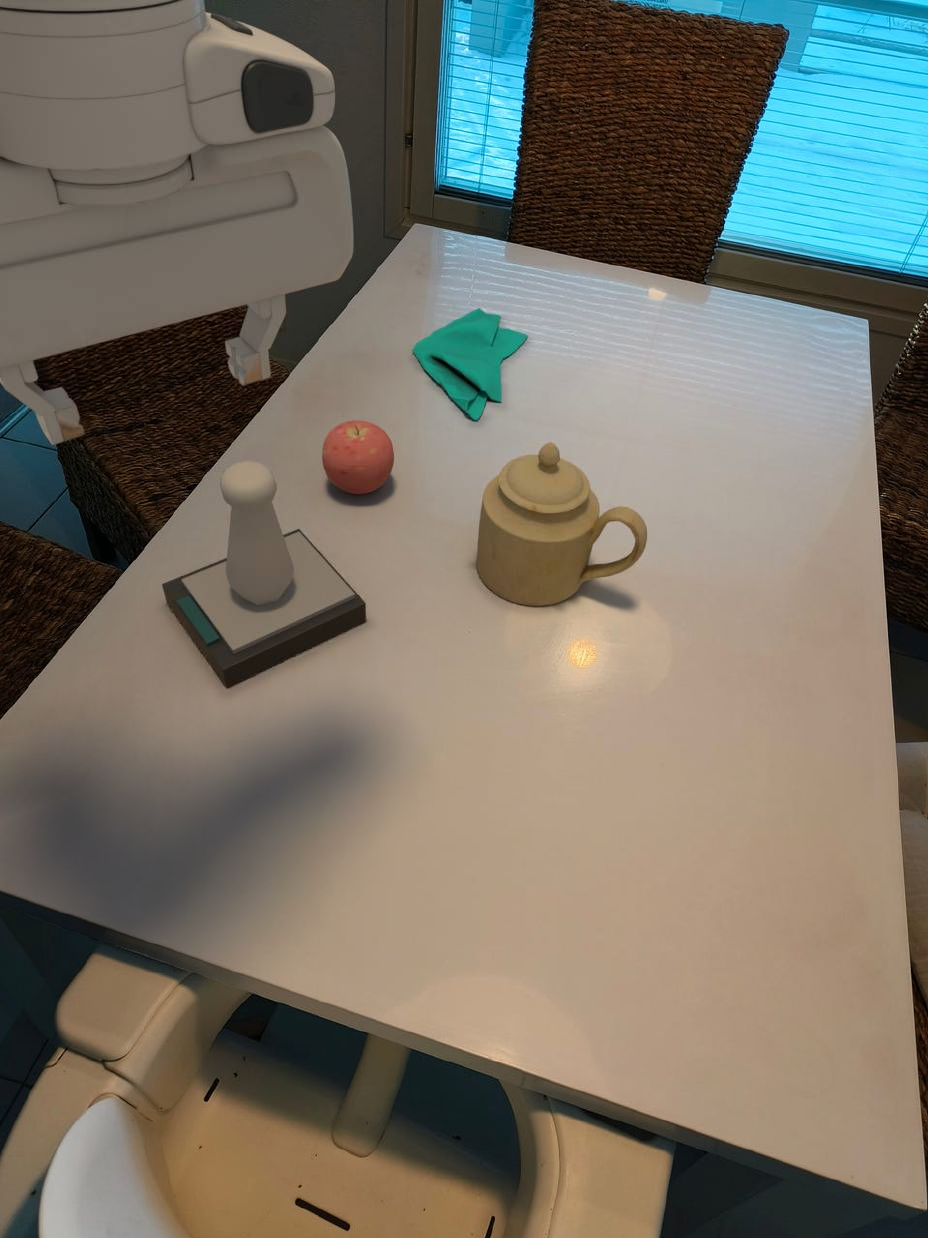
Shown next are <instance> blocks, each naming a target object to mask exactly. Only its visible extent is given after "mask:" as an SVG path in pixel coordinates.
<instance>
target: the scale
mask: <svg viewBox="0 0 928 1238" xmlns="http://www.w3.org/2000/svg"><path fill="white" fill-rule="evenodd" d="M283 536H284V539H285V542H286V545H287V548H288V551H289V554H290V557H291V560H292V563H293V566H294V573H293V576H292V579H291V582H290V584H289V585H288V587H287V588H286V590H285V591H284V593H283V594H282V596H281V597H280V599H279V601H277V602H272V603H268V604H263V605H259V606H257V605H255V604H253V603H251V602H249V601H247V600H245V599H243V598H241V597H240V596H239V594H238V593H237V592H236V591H235V590H234V589H233V588H232V587H231V586H230V584H229V582H228V579H227V575H226V561H227V557H225V558H222V559H221V560H218V561H216V562H213V563H210V564H208V565H205V566H203V567H201V568H198V569H195V570H193V571H191V572H189V573H186V574H184V575H181V576H177V577H176V578H174V579H171V580H169V581H166V582H164V583H161V587H162V591H163V594H164V597H165V602H166V604H167V605H168V607H169V608H170V610H171V611H172V612H173V614H174V615H175V617H176V618H177V620H178V621H179V623H180V624H181V625H182V627H183V628H184V630H185V631H186V632H187V634H188V635H189V637H190V638H191V640H192V642H194V644H195V645H196V647H197V648H198V649H199V651H200V652H201V654H202V655H203V657H204V659H205V660H206V661H207V662H208V665H209V666H210V667H211V668H212V670H213V671H214V673H215V674H216V675H217V677H218V678H219V680H220V681H221V682H222V684H223V685H224V687H225V688H226V689H228V688H230V687H232V686H235V685H236V684H238V683H241V682H243V681H245V680H247V679H249V678H251V677H254V676H255V675H257V674H260V673H262V672H264V671H266V670H267V669H269V668H272V667H274V666H277V665H278V664H280V663H283V662H284V661H287V660H289V659H290V658H293V657H294V656H297V655H299V654H301V653H303V652H304V651H307V650H309V649H311V648H313V647H315V646H318V645H320V644H322V643H324V642H326V641H328V640H331V639H332V638H334V637H336V636H338V635H340V634H343V633H344V632H347V631H349V630H350V629H353V628H356V627H357V626H360V625H361V624H363V623H366V622H367V605H366V601H365V600H364V599H363V598H362V597H361V596H360V595H359V594H358V592H356V590H355V589H353V587H352V586H351V585H350V584H349V583H348V582H347V580H346V579H345V578H344V577H343V576H342V574H340V572H338V570H337V569H336V568H335V567H334V566H333V565H332V564H331V563H330V562H329V560H328V559H327V558H326V557H325V556H324V554H322V553H321V551H320V550H319V549H318V548H317V547H316V546H315V544H314V543H312V541H311V540H310V539H309V538H308V537H307V536H306V534H304V532H303V531H302V530H301V529H300V528H297V529H294V530H292V531H289V532H287V533H285V534H283Z"/></svg>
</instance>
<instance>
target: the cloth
mask: <svg viewBox="0 0 928 1238" xmlns="http://www.w3.org/2000/svg"><path fill="white" fill-rule="evenodd" d="M500 320H501V315H500V314H496V313H486V312H485V311H484V310H482V308H480V307H478V308H476V309H474V310H472V311H470V312H467V313H466V314H465V315H463V316H461V317H458V318H456V319H453V320H452V321H450V322H449V323H448V324H446V325H445V326H442V327H439V328H438V329H435V330H434V331H433V332H432V333H431V334H430V335H428V336H426V337H424V338H422V339H421V340H419V341H417V342H416V344H415V345H414V346H413V348H412V352H413V354H414V355H415V357H416V358H417V360H418V362H419V363H420V366H421V367H422V368H423V369H424V370H425V371H426V373H428V374H429V376H431V378H433V380H434V381H436V383H437V384H438V385H440V386H441V388H443V389H445V391H446V393H447V394H448V397H450V398H451V399H452V400H453V401H454V402H455V403H456V404H457V405H458V406H459V407H460V409H461V410H463V411H464V412H465V413H466V414H467V416H469V417H470V418H471V419H472V420H473V421H479V419H480V417H481V416H482V414H483V412H484V409H485V405H486V403H487V399H488V398H489V399H490V400H492V401H495V402H497V403H503V402H502V398H503V397H502V365H501V363H502V362H503V360H504V359H506V358H508V357H510V356H511V355H513V354H514V353H515V352H516V351H517V350H518V349H519V348H520V347H521V346H522V345H523V344H524V343H525V341H526V340H527V338H528V337H529V335H528V334H526V333H524V332H520V331H517V330H513V329H510V328H504V327H499V324H500Z"/></svg>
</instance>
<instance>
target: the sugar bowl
mask: <svg viewBox="0 0 928 1238" xmlns="http://www.w3.org/2000/svg"><path fill="white" fill-rule="evenodd" d="M600 511H601V509H600V502H599V500H598V497H597V496H596V494H595V492H594V491H593V490H592V489H591V485H590V480H589V479H588V477H587V475H586V473H584V471H583V469H581V468H580V467H578V466H577V465H576V464H574V463H572V462H570V461H568V460H566V459H563V458H561V454H560V449H559V448H558V446H557V445H556V443H554V442H552V441H551V442H550V441H549V442H547V443H545V444H544V445H543V446H541V447H540V449H539V451H538V454H526V455H521V456H519V457H517V458H514V459H511V460H509V461H508V462H507V463H506V464H505V465H504V466H503V467H502V468H501V470H500V471H499V474H498V475H496V476H495V477H493V478H492V479H491V480H490V481H489V482H488V484H487V485H486V487H485V489H484V491H483V494H482V501H481V508H480V515H479V523H478V533H477V535H478V536H477V548H476V549H477V550H476V560H475V561H476V563H475V564H476V570H477V573H478V575H479V577H480V580H481V581H482V582H483V583H484V585H485V586H486V587H487V588H488V589H489V590H490V591H492V592H493V593H494V594H496V596H499V597H501V598H502V599H505V600H506V601H507V600H508V602H509V601H510V602H512V603H516V604H520V605H525V606H531V607H532V606H533V607H539V606H542V607H543V606H549V605H554V604H558V603H561V602H563V601H565V600H567V599H569V598H570V597H572V596H573V595H575V594H576V593H577V592H578V590H579V589H580V588H581V586H582V585H583V583H585V582H586V581H590V580H595V579H602V578H608V577H613V576H615V575H619V574H621V573H623V572H625V571H627V570H628V569H630V568H632V566H635V564H636V563H637V562H638V561H639V560H640V558H641V557H642V555H643V553H644V551H645V549H646V546H647V541H648V528H647V525H646V523H645V521H644V519H643V517H642V516H641V515H640V514H639V513H638V512H637V511H636V510H634V509H633V508H630V507H628V506H621V505H619V506H614V507H612V508H609V509H608V510H606V511H605V512H603V513H602V514H601V515H600ZM611 522H618V523H619V522H620V523H622V524H623V525H625V526H626V527H627V528H628V529H630V531H631V533H632V536H633V537H634V546H633V548H632V550H631V552H630V553H628V555H626V556H624V557H623V558H620V559H618V560H615V561H611V562H605V563H593V564H589V562H590V558H591V554H592V550H593V546H594V544H595V543H596V542H597V541H598V539H599V538H600V536H601V535H602V532H603V531H604V529H605V528H606V526H607V524H608V523H611Z"/></svg>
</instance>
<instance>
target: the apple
mask: <svg viewBox="0 0 928 1238" xmlns="http://www.w3.org/2000/svg"><path fill="white" fill-rule="evenodd" d="M321 450H322V451H321V455H322V456H321V460H322V466H323V469H324V472H325V474H326V477H327V478H328V479H329V481H330V482H331V483H333V484H334V486H336V487H337V488H338V489H340V490H342V491H344V492H346V493H349V494H353V495H365V494H369V493H371V492H374V491H376V490H377V489H379V488H380V487H381V486H382V485H384V484H385V483H386V481H387V480H388V478H389V477H390V475H391V473H392V470H393V467H394V462H395V453H394V445H393V442H392V440H391V438H390V436H389V434H388V433H387V432H386V431H385V430H384V429H383V428H382V427H380V426H379V425H376V423H375V424H374V423H372V422H369V421H366V420H357V419H356V420H348V421H345V422H342V423H340V424H338V425H336V426H334V427H333V428H332V429H331V430H330V431H329V432H328V434H327V435H326V437H325V438H324V440H323V444H322V449H321Z"/></svg>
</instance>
